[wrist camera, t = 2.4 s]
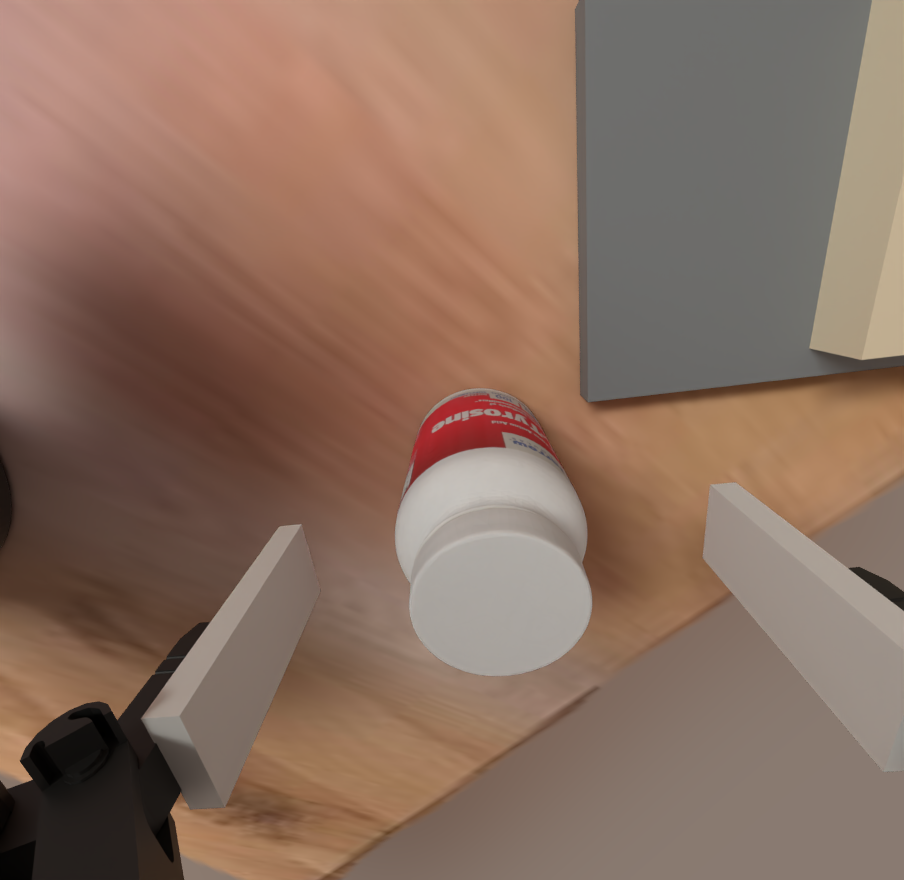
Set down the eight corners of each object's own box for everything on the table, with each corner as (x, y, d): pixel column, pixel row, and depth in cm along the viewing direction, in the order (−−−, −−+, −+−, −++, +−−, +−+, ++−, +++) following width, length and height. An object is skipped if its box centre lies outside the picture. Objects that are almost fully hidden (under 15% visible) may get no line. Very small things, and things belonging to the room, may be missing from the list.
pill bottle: (555, 396, 20) (660, 527, 10) (525, 508, 22) (586, 711, 12) (424, 374, 20) (393, 487, 10) (407, 490, 22) (366, 683, 12)
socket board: (580, 394, 20) (606, 420, 17) (575, 9, 15) (611, -68, 12) (1050, 340, 19) (1181, 355, 16) (1216, -93, 14) (1463, -211, 11)
